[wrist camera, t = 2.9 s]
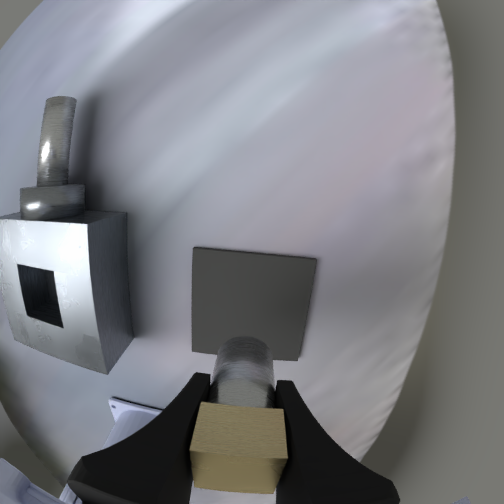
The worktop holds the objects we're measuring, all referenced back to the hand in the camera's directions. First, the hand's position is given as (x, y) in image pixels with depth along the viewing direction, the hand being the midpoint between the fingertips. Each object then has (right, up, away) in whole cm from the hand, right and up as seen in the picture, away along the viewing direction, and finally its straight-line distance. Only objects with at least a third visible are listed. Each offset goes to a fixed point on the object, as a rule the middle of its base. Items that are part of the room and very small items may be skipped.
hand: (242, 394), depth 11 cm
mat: (0, +2, +8) cm, 9 cm away
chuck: (-13, +8, +7) cm, 17 cm away
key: (0, +1, +3) cm, 3 cm away
